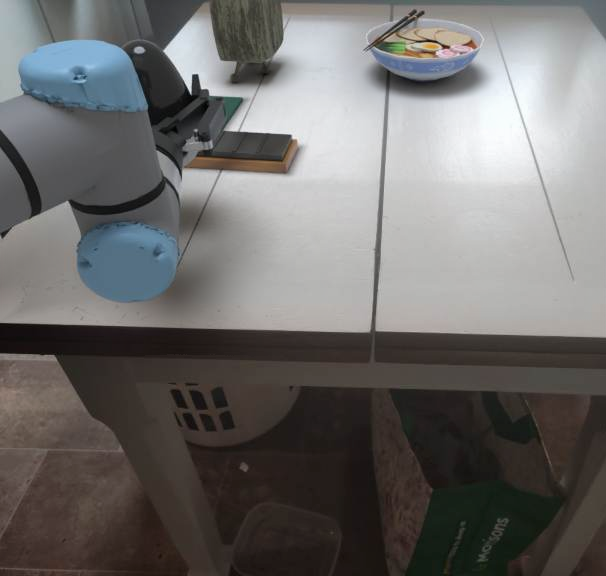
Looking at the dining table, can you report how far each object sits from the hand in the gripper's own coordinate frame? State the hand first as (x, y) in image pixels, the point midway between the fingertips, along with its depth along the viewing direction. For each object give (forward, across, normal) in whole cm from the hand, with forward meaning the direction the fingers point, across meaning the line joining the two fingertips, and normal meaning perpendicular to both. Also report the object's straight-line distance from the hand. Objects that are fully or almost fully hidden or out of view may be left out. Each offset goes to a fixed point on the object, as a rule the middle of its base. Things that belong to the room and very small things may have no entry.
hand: (155, 87), depth 76 cm
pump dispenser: (-4, 0, -8) cm, 9 cm away
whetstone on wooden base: (+10, +9, -16) cm, 21 cm away
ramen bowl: (+37, +46, -16) cm, 61 cm away
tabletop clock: (+44, +13, -16) cm, 49 cm away
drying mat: (+27, 0, -16) cm, 31 cm away
